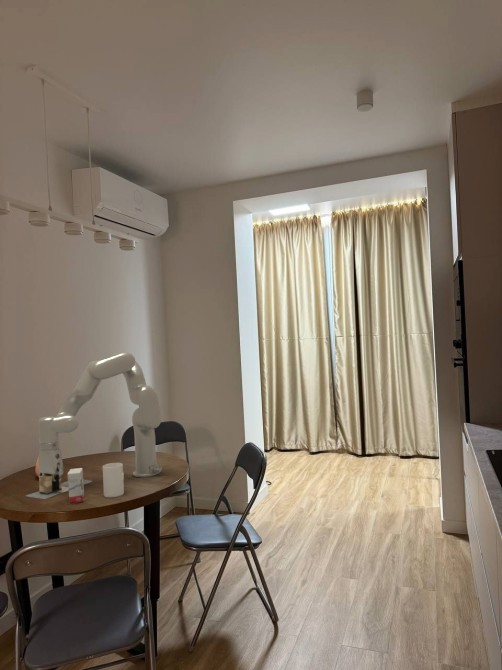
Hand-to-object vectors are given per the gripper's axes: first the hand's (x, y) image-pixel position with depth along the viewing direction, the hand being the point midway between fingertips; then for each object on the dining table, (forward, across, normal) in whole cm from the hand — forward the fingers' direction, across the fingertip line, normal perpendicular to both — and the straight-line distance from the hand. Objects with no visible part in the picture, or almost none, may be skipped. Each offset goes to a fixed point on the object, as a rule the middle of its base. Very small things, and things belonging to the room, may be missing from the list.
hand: (51, 488), depth 201 cm
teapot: (+2, +24, -19) cm, 31 cm away
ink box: (+2, -17, +2) cm, 18 cm away
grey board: (+2, 0, -5) cm, 5 cm away
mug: (+2, -26, -10) cm, 27 cm away
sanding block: (+1, 0, 0) cm, 1 cm away
